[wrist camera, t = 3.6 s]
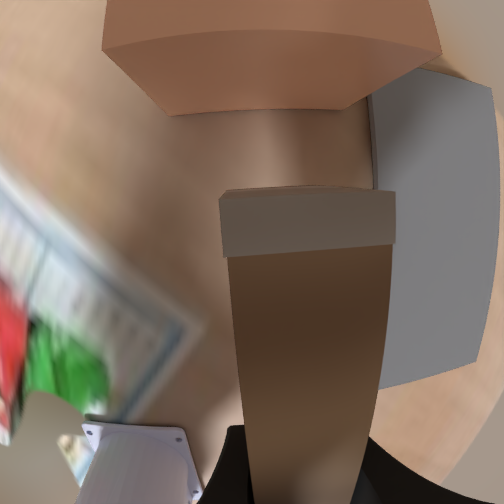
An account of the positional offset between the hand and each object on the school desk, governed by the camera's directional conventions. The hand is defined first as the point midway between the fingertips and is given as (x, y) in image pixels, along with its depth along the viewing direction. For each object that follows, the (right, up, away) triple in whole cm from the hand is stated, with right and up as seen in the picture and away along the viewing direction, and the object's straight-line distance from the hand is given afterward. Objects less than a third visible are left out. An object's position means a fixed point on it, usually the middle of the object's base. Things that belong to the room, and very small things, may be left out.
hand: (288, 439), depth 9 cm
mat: (+10, +7, +8) cm, 15 cm away
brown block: (0, +1, +2) cm, 2 cm away
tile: (-1, +14, +5) cm, 15 cm away
